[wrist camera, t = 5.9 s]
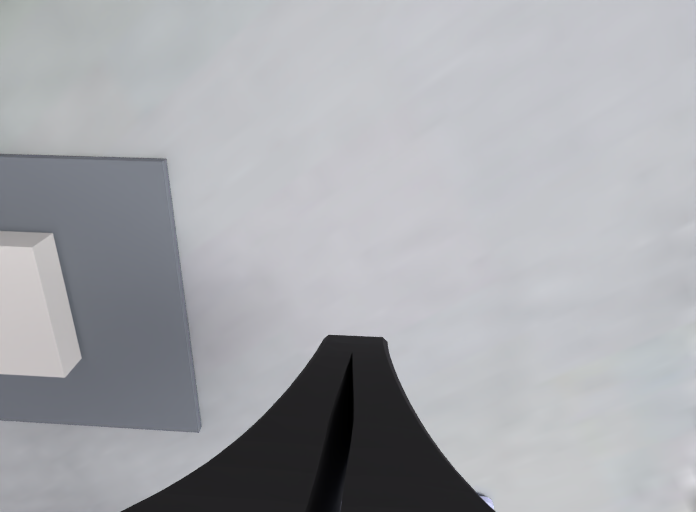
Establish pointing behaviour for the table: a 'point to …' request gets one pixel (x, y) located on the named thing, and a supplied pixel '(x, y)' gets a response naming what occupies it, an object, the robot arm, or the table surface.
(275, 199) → the table surface
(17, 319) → the tile
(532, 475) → the table surface
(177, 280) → the mat
